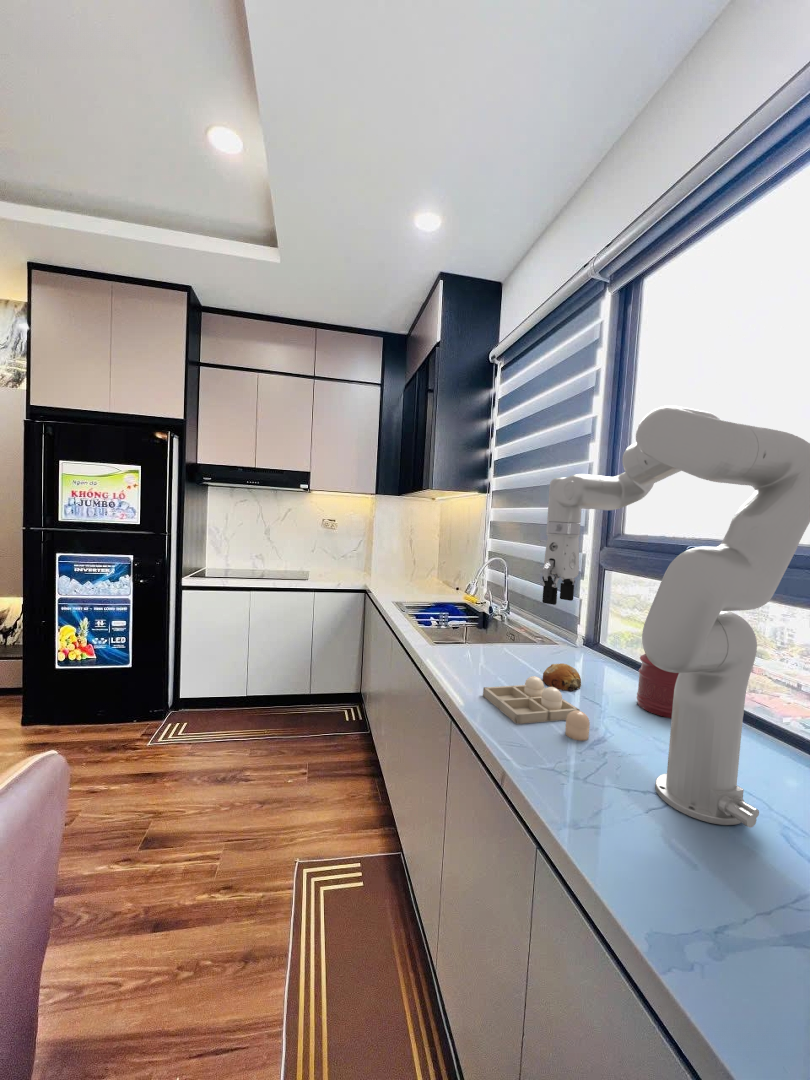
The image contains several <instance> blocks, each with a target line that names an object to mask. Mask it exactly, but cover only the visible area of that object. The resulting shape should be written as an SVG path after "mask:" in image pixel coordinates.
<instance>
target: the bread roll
mask: <svg viewBox="0 0 810 1080" xmlns="http://www.w3.org/2000/svg"><path fill="white" fill-rule="evenodd" d="M581 678H582V677H581V675H580V673H579V671H577V669H576V668H575V667H573V666H572V665H569V664H567V663H552V664H550V665H549V666H548V667H547V668H546V669H545V670H544V671H543V673H542V681H543V683H544V684H545V685H547V686H548V687H555V688H557V689H558V690H559V691H569V692H574V691H578V690H579V689H581V687H582V679H581Z"/></svg>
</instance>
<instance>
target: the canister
mask: <svg viewBox="0 0 810 1080" xmlns="http://www.w3.org/2000/svg"><path fill="white" fill-rule="evenodd" d="M639 659H640V662H641V666H640V668H639V669H638V687H637V692H636V703H637V705H638V706H639V707H640V708H641V709H642V710H645V712H646V711H647V712H649V713H651V714H654V715H657V716H659V717H664V718H668V719H672V708H673V698H674V689H675V684H676V680H677V677H678V675H679V673H673V672H668V671H664V670H662V669H660V668H658V667H656V666H655V665H654V664H653V663H652V662H651V661H650V660H649V659H648V657H647V656H646V654H645V653H644V654H641V655H640V656H639Z"/></svg>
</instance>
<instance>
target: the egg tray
mask: <svg viewBox="0 0 810 1080" xmlns="http://www.w3.org/2000/svg"><path fill="white" fill-rule="evenodd" d="M545 688H546V687H545V686H544V689H545ZM524 689H525V684H519V685H518V684H517V685H504V686H503V685H501V686H488V687H487V686H486V687H483V690H482V692H483V693H482V695H483V697H484V698H485V699H487V701H488V702H490V703H491V704H493V706H495V707H496V708H497V709H498V710H500V711H501V713H503V714H504V715H505V716H507V717H508V718H509V719H510V720H511V721H513V722H514V723H515V724H516V725H521V724H522V725H523V724H533V723H544V722H554V721H555V722H556V721H566V718H567V715H568V714H569V713H570V712H572V711H575V710H578V711H581V709H579V708H578V707H576V706H575V705H573V704H571V703H570V702H569V701H567V700H565V699H563V698H562V709H561V710H547V709H546V708H544V707H543V706H542V705H541V697H529V696H527V695H526V694H525V693H524Z"/></svg>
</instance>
